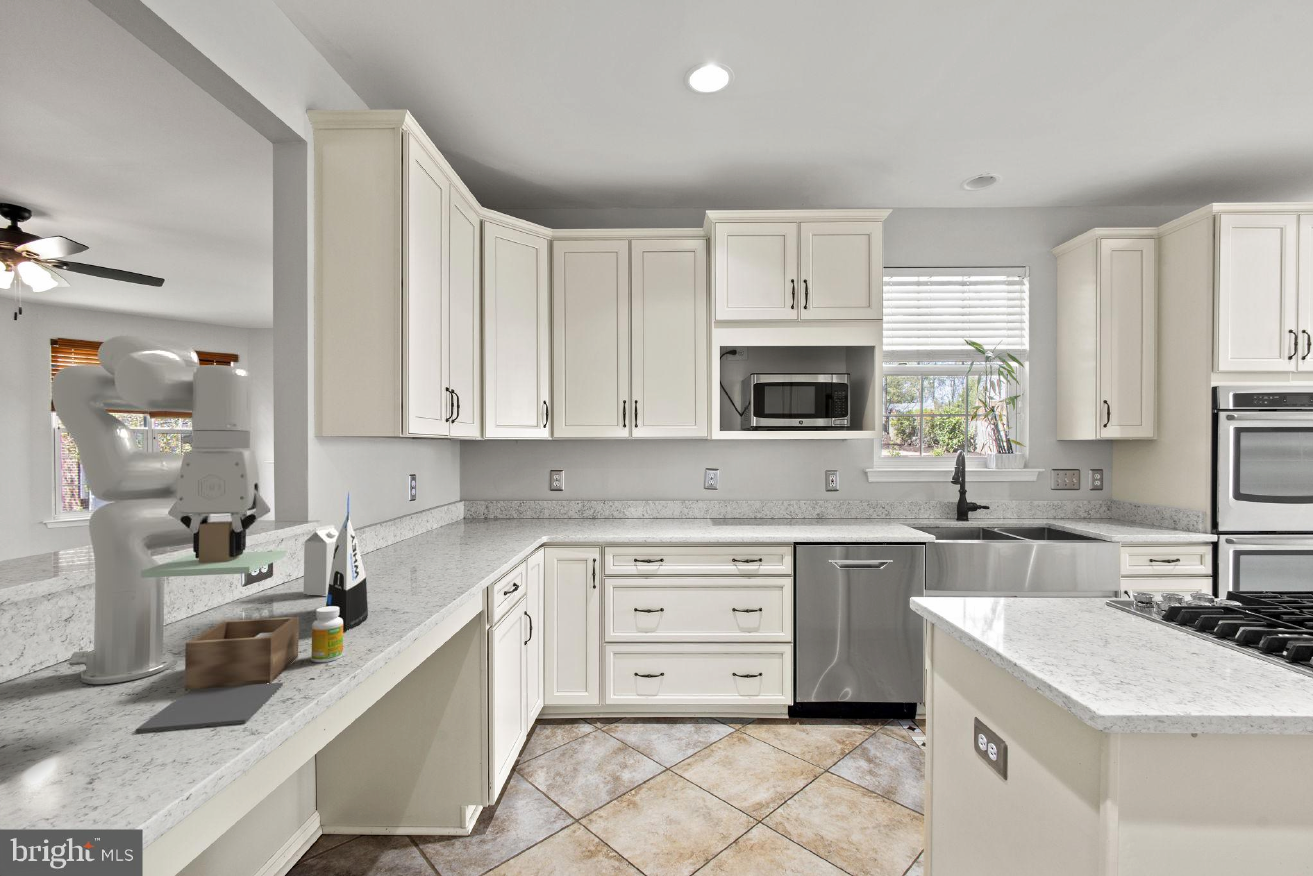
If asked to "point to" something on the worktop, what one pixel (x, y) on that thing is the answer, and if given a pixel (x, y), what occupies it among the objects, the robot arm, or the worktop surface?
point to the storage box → (241, 653)
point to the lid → (214, 556)
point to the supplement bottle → (327, 635)
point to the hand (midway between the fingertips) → (219, 555)
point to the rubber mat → (211, 707)
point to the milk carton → (319, 560)
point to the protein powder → (348, 578)
